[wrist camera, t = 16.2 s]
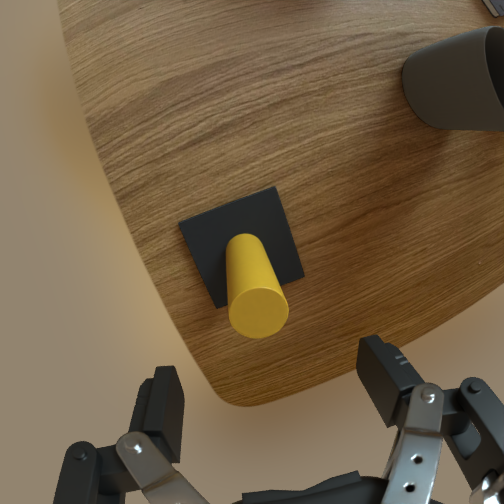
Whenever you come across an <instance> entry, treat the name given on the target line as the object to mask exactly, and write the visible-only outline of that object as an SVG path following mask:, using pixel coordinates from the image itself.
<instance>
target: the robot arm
mask: <svg viewBox="0 0 504 504" xmlns="http://www.w3.org/2000/svg"><path fill="white" fill-rule="evenodd" d="M356 369H357V373H358V376H359V378H360V380H361V382H362V383H363V385H364V387H365V389H366V390H367V392H368V394H369V396H370V398H371V399H372V401H373V403H374V405H375V407H376V408H377V410H378V412H379V414H380V416H381V417H382V419H383V421H384V423H385V425H386V426H387V428H388V427H391V426H394V425H396V426H397V427H398V431H397V434H396V437H395V440H394V444H393V447H392V450H391V453H390V456H389V459H388V462H387V465H386V468H385V470H384V472H383V475H382V477H381V478H378V477H371V476H360V475H359V473H358V471H354V472H350V473H347V474H343V475H340V476H336V477H332V478H330V479H327V480H325V481H323V482H321V483H319V484H317V485H315V486H313V487H310V488H308V489H306V490H303V491H288V490H266V491H259V492H249V493H242V500H240V501H237V502H235V503H232V504H443V503H441V502H438V501H435V500H433V499H430V498H431V494H432V490H433V487H434V482H435V478H436V474H437V469H438V464H439V459H440V453H441V447H442V442H443V438H444V439H445V441H446V442H447V445H448V447H449V448H450V450H451V452H452V454H453V455H454V457H455V459H456V461H457V463H458V464H459V466H460V468H461V470H462V472H463V474H464V475H465V478H466V480H467V482H468V484H469V485H470V487H471V489H472V493H471V495H470V499H469V503H470V504H504V405H503V404H502V403H501V401H500V400H499V399H498V397H497V396H496V395H495V394H494V392H493V391H492V390H491V389H490V387H489V386H488V385H487V384H486V383H485V382H484V381H483V380H482V379H480V378H476V377H470V378H467V379H465V380H463V382H462V383H461V385H460V387H459V388H456V389H448V390H442V389H441V388H440V387H439V386H438V385H436V384H433V383H425V382H424V380H423V379H422V378H421V377H420V375H419V374H418V373H417V371H416V370H415V369H414V367H413V366H412V365H411V364H410V363H409V362H408V360H407V359H406V357H404V356H403V354H402V352H401V351H400V350H399V349H398V348H397V347H396V346H394V345H392V344H390V343H385V344H384V342H383V341H382V340H381V338H380V337H379V336H378V335H371V336H367V337H363V338H361V339H360V340H359V347H358V355H357V363H356ZM137 396H138V398H137V399H136V405H135V407H134V411H133V415H132V419H131V423H130V427H129V431H128V433H126V434H124V435H123V436H121V437H120V438H119V440H118V441H117V443H116V444H115V445H111V446H107V447H101V448H95V447H94V446H93V445H92V444H91V443H89V442H86V441H80V442H76V443H74V444H72V445H71V446H70V447H69V448H68V449H67V451H66V454H65V457H64V461H63V465H62V469H61V472H60V476H59V480H58V484H57V488H56V492H55V497H54V501H53V504H125V494H126V492H131V491H136V490H142V493H143V494H144V496H145V497H146V499H147V500H148V501H149V503H150V504H210V503H209V502H207V500H206V499H205V498H204V497H202V495H201V494H200V493H199V492H197V490H196V489H194V487H193V486H192V485H191V484H190V483H189V482H188V481H187V480H186V479H185V478H184V476H183V475H182V474H181V473H180V472H179V471H176V470H175V469H174V467H173V466H172V465H171V464H172V463H180V451H181V439H182V426H183V415H184V402H185V401H184V393H183V389H182V386H181V383H180V380H179V377H178V375H177V371H176V368H175V367H174V366H159V367H156V370H155V374H154V378H149V379H146V380H145V381H144V383H142V385H141V386H140V388H139V392H138V395H137ZM472 423H473V424H474V425H473V424H472ZM474 426H475V427H476V428H475V427H474ZM476 429H477V430H478V432H479V433H478V432H477V430H476Z"/></svg>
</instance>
